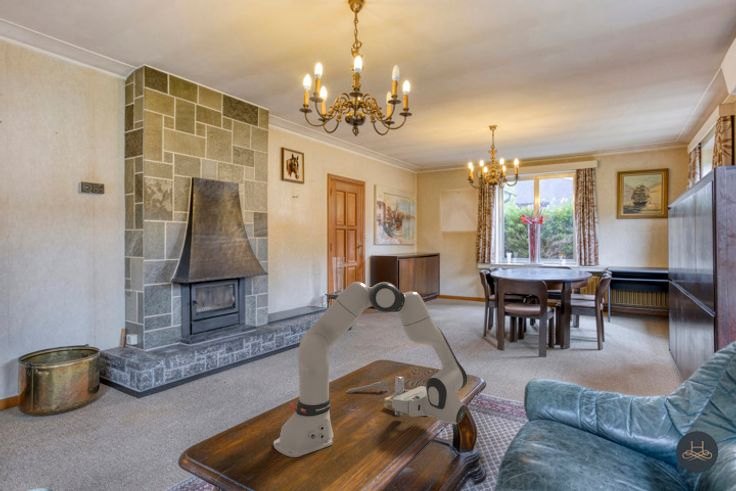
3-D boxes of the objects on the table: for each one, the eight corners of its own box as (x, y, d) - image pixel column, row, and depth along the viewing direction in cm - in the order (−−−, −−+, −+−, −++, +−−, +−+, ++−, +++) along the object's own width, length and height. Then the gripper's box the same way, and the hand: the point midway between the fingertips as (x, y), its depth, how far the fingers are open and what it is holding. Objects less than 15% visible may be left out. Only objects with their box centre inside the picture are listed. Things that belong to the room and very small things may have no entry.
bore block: (400, 413, 167) (400, 404, 167) (384, 407, 173) (384, 398, 173) (412, 407, 174) (412, 398, 174) (397, 401, 180) (397, 392, 180)
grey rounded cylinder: (399, 416, 159) (400, 379, 159) (393, 413, 161) (393, 377, 161) (405, 413, 162) (405, 377, 162) (398, 411, 164) (398, 375, 164)
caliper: (387, 391, 193) (387, 378, 193) (387, 392, 192) (387, 379, 192) (345, 392, 192) (345, 379, 192) (345, 393, 191) (345, 380, 191)
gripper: (440, 387, 160) (412, 379, 170) (410, 401, 145) (381, 391, 155) (440, 402, 160) (412, 393, 170) (409, 418, 145) (381, 407, 155)
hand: (397, 392), depth 162 cm, fingers closed on grey rounded cylinder, 4 cm apart
